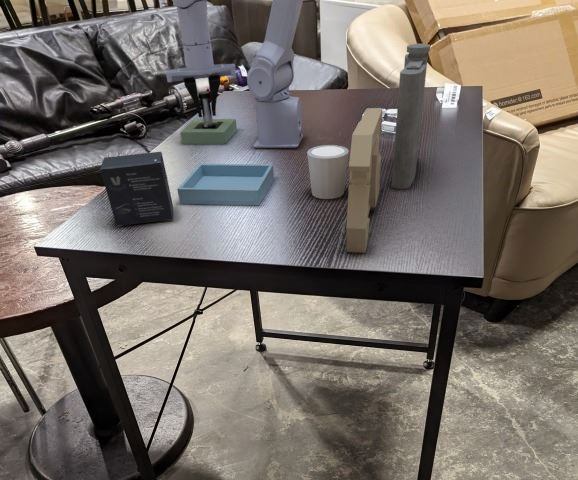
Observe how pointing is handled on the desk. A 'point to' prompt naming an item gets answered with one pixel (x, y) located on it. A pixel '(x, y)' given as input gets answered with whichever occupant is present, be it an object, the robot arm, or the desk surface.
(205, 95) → the silver black capped cylinder
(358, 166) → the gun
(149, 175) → the box
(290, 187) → the desk surface
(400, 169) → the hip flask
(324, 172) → the white cup
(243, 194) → the tray
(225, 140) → the green square holder
